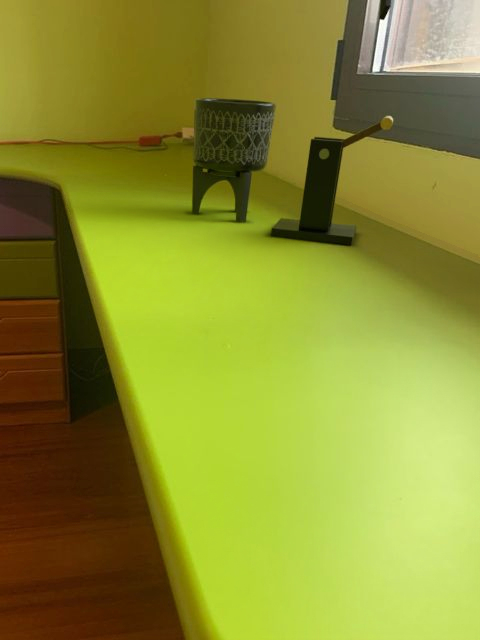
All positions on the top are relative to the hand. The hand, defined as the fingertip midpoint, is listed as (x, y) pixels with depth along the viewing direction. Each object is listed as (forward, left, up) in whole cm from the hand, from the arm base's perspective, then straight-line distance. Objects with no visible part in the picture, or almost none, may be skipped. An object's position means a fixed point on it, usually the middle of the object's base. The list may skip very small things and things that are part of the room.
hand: (429, 20), depth 103 cm
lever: (+7, +15, -17) cm, 24 cm away
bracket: (+11, +15, -30) cm, 36 cm away
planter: (+27, +7, -30) cm, 41 cm away
